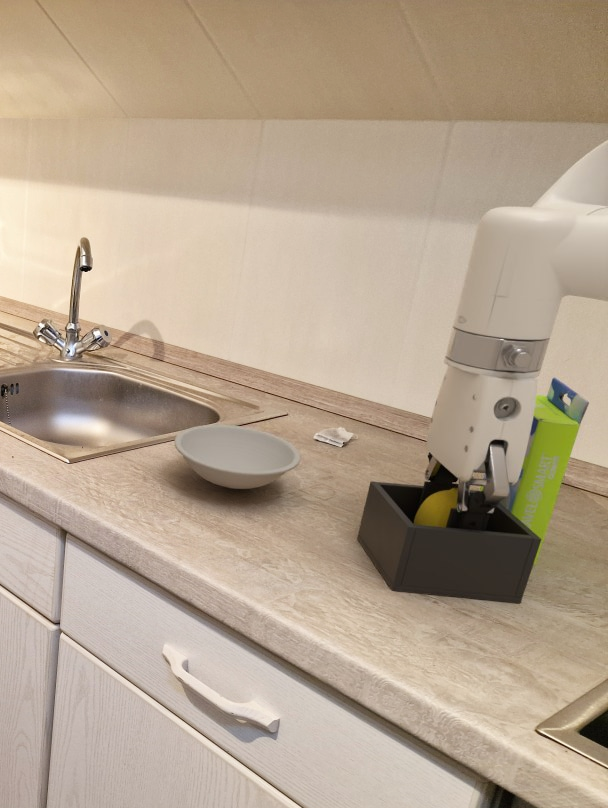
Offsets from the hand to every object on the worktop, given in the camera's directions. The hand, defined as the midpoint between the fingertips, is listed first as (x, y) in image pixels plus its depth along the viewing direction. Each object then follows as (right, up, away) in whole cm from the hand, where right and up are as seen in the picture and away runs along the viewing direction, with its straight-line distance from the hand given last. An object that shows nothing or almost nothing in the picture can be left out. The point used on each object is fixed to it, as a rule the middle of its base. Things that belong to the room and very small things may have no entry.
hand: (446, 532), depth 83 cm
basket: (-1, -4, +1) cm, 4 cm away
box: (+10, -2, +8) cm, 13 cm away
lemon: (0, -3, +1) cm, 4 cm away
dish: (-15, +4, +20) cm, 25 cm away
